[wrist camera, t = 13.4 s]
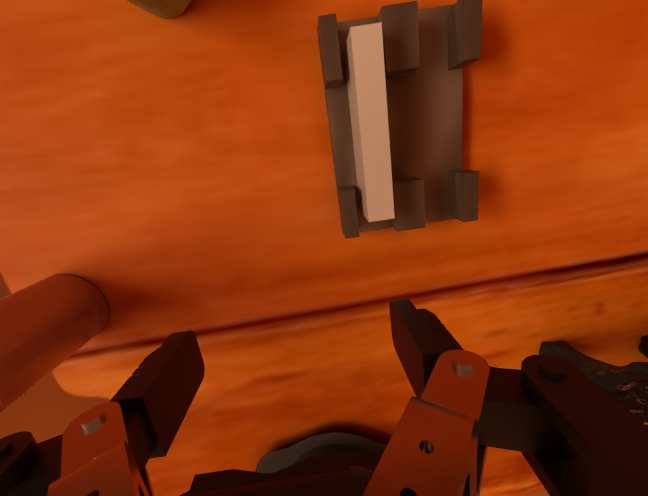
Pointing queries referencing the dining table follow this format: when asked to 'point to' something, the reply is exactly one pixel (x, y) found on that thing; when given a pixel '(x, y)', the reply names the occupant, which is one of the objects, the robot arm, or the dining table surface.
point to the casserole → (325, 451)
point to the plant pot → (163, 7)
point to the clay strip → (369, 120)
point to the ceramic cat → (610, 375)
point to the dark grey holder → (409, 112)
